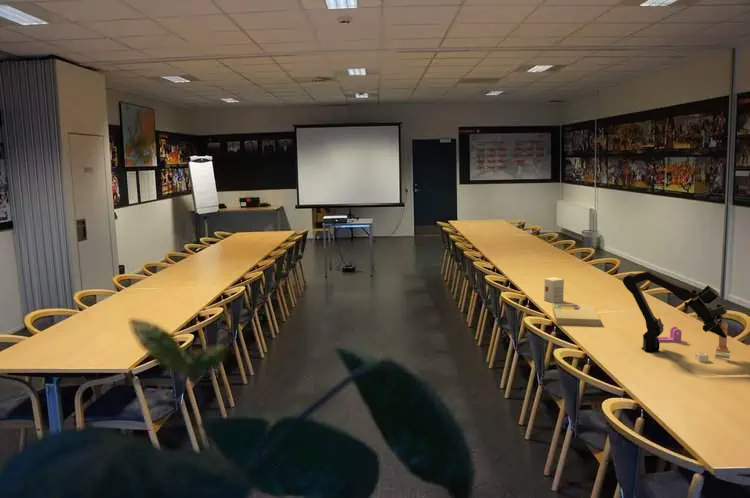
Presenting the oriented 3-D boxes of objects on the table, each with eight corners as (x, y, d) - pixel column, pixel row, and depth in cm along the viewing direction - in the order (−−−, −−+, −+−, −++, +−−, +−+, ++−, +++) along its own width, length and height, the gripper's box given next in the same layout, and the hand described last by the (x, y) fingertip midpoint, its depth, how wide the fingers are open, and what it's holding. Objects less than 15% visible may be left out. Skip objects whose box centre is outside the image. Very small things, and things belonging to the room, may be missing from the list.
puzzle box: (555, 325, 363) (600, 327, 358) (555, 317, 362) (600, 319, 357) (552, 310, 398) (593, 311, 393) (552, 303, 397) (593, 304, 392)
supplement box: (543, 300, 422) (543, 278, 420) (554, 299, 426) (554, 276, 423) (552, 303, 414) (553, 280, 412) (563, 301, 418) (564, 279, 415)
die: (699, 364, 292) (699, 355, 291) (694, 361, 296) (695, 352, 295) (707, 363, 292) (708, 355, 291) (703, 361, 296) (703, 352, 295)
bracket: (677, 339, 330) (677, 326, 329) (681, 342, 325) (681, 329, 324) (650, 339, 332) (651, 326, 331) (654, 342, 326) (654, 329, 325)
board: (729, 364, 290) (729, 362, 290) (713, 362, 294) (713, 360, 293) (730, 352, 307) (731, 350, 307) (715, 350, 311) (715, 348, 310)
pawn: (720, 351, 292) (721, 323, 290) (714, 348, 296) (715, 320, 294) (730, 351, 292) (731, 323, 290) (724, 348, 296) (725, 320, 294)
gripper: (712, 303, 285) (738, 331, 280) (719, 295, 300) (744, 321, 295) (691, 318, 291) (717, 345, 286) (699, 309, 306) (724, 335, 301)
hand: (726, 336), depth 292 cm, fingers closed on pawn, 3 cm apart
